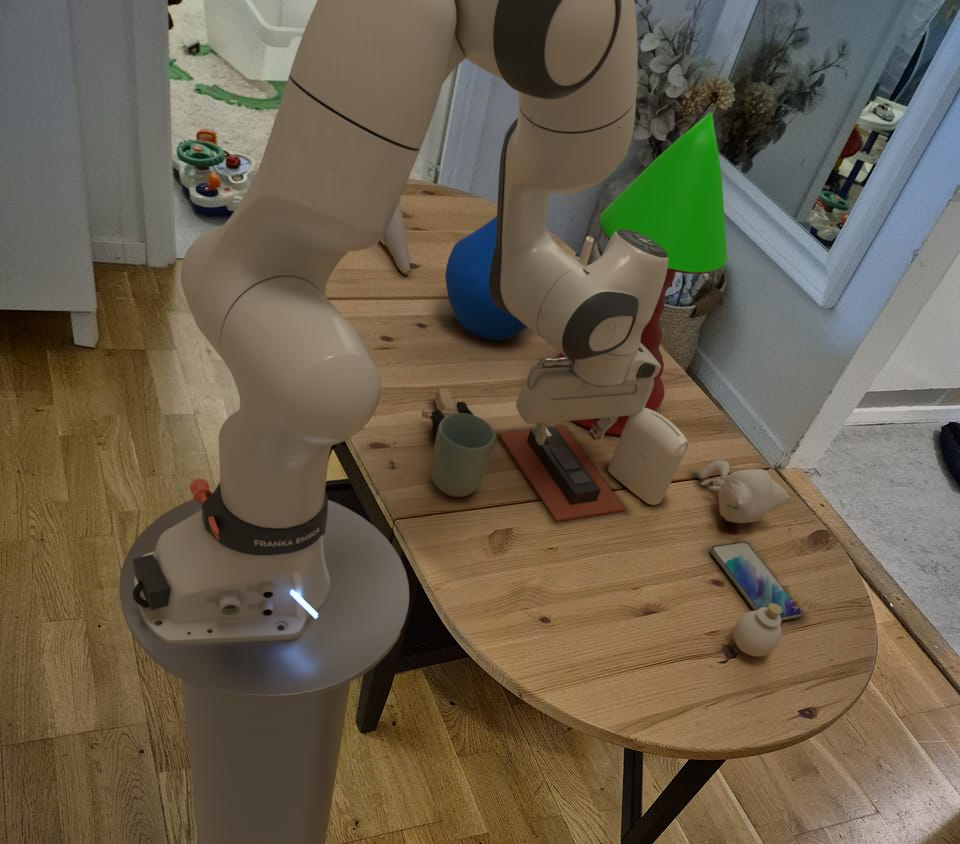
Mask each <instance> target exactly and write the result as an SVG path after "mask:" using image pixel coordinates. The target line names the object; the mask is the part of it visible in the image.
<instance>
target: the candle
mask: <svg viewBox="0 0 960 844" xmlns="http://www.w3.org/2000/svg"><path fill="white" fill-rule="evenodd" d="M594 241H595V239H594V237H592V236H591V235H588V236H586V237H585V240H584V243H583V245H582V248H581V252H580V254H579V257H578V260H577V261H578V262H580V263H581V264H583V265H584V266H587V265H588V262H589V258H590V255H591V252H592V250H593V249H592V248H593V246H594V245H593V244H594Z"/></svg>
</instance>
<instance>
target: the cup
mask: <svg viewBox="0 0 960 844" xmlns="http://www.w3.org/2000/svg"><path fill="white" fill-rule="evenodd" d="M435 436H436V437H435V439H434V446H433V452H432V457H431V466H430V467H431V476H432V481H433V483H434V485H435V486H436V487H437V489H438V490H439V491H440V492H442V493H444V494H445V495H447V496H449V497H453V498H464V497H467V496H469V495H471V494H473V493H474V492H475V491H476V490H477V489H478V488H479V487H480V486H481V484H482V482H483V480H484V478H485V475H486V473H487V471H488V467H489V464H490V461H491V457H492V454H493V450H494V446H495V443H496V433H495V430H494V428H493V427H492V426H491V425H490V423H488V422H487V421H486V420H484V419H482V418H481V417H480V416H479V417H478V416H477V415H474V414H473V415H472V414H467V413H458V412H457V413H456V414H452V415H449V416H447V417H445V418H444V419H443V420H442V421H441V422H440V424H439V427H438V431H437V435H435Z"/></svg>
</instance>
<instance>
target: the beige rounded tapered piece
mask: <svg viewBox="0 0 960 844" xmlns="http://www.w3.org/2000/svg"><path fill="white" fill-rule="evenodd" d="M730 470H731V466H730V463H729V462H727V461H726V460H714V461H712V462H710V463H708V464H707V465H706V466H705V467H704V468H703V469H702V470H701V471H700V472H699V473H698V474H696V475H695V478H697V479H699V480H703V481H701V482H700V485H701V486H707V485H709V484H711V483H712V485H711V486H709V487H708V488H709V490H710V491H712V492H713V491H714V492H718V510H719V515H720V516H721V517H722V518H724V520H725V521H726V522H729V523H735V524H748V523H754V522H755V523H756V522H759V521H761V520H762V519H764V518H765V517H766V516H767V515H768V513H770V512H772V511H775V510H776V509H778V508H780V507H782V506H783V505H784V504H785V503H786V502H788V501H789V500H790V499H791V496H790V495H789V494H788V492H787V491H786V489H784V487H783V486H782V485H780V484H779V483H778V482H776V481H775V480H773V478H772V477H771V475H770V474H769V472H768V471H767V470H765V469H763V468H749V469H742V470H735V471H732V472H731V473H730V474H729V472H730ZM716 474H720V477H718V478H716V479H715V478H714V477H713V478H710V477H712V476H715V475H716Z"/></svg>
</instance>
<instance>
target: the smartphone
mask: <svg viewBox="0 0 960 844" xmlns="http://www.w3.org/2000/svg"><path fill="white" fill-rule="evenodd" d="M709 553H710V554H711V555H712V556H713V558H714V559H715V561H716V562H717V563H718V564H719V566H720V567H721V569H722V570H723V571H724V573H726V575H727V576H728V578H729V579H730V580H731V581H732V583H733V584H734V585H735V587H736V589H738V591H739V592H740V594H741V596H742V597H743V598H744V599H745V600H746V602H747V603H748V604H749V605H750V607H751V608H752V610H753V611H758V609H760V608H762V607H766V608H768V606H769V604H771V603H775V604H777V605H779V606H780V607H781V608H782V613H780V614H779V616H780V618H781V622H784V621H789V620H793V619H797V618H798V619H799V618H800V617H801V616H802V615H803V610H802V609H801V607H800V608H797V609H796V608H792V607H795V606H798V604H797V603H796V601H793V602H792V601H790V600H793V599H794V598H792V597H791V595H790V594H789V593H788V591H787V590H786V589H785V588H784V587H783V586H782V584H781V583H780V582H779V580H778V579H777V578H776V576H774V573H772V572H771V570H770V569H769V568H768V566H767V565H766V564H765V563H764V561H763V560H762V559H761V558H760V557H759V555H758V554H757V553H756V552H755V550H754V549H753V548H752V546H750V544H749V543H748V542H747V541H742V540H741V541H736V542H729V543H723V544H716V545H712V546H711V547H710V548H709ZM791 602H792V603H791ZM795 609H796V610H795ZM786 616H787V617H786ZM785 617H786V619H782V618H785Z"/></svg>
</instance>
